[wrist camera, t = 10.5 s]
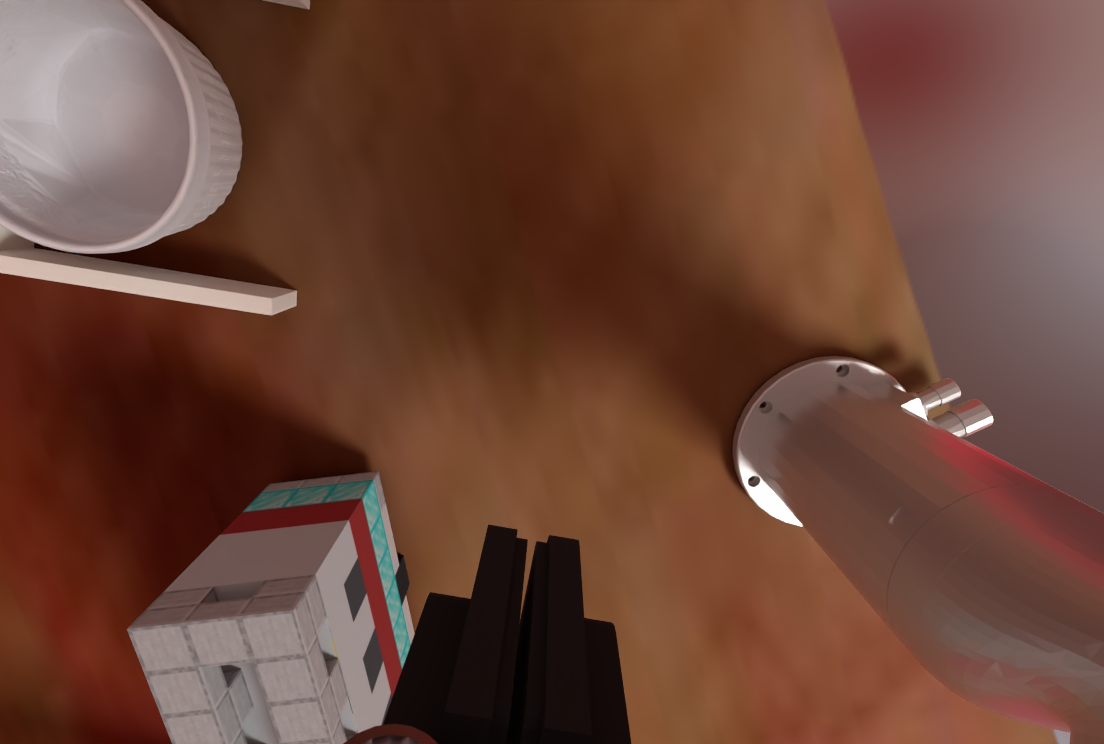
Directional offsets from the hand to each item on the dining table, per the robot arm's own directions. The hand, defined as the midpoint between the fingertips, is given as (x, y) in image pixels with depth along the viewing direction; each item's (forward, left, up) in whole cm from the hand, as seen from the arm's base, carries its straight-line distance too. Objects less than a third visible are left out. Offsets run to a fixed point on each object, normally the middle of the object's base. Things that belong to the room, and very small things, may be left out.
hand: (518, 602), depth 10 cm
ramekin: (+15, -20, -28) cm, 38 cm away
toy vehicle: (+23, +17, -28) cm, 40 cm away
